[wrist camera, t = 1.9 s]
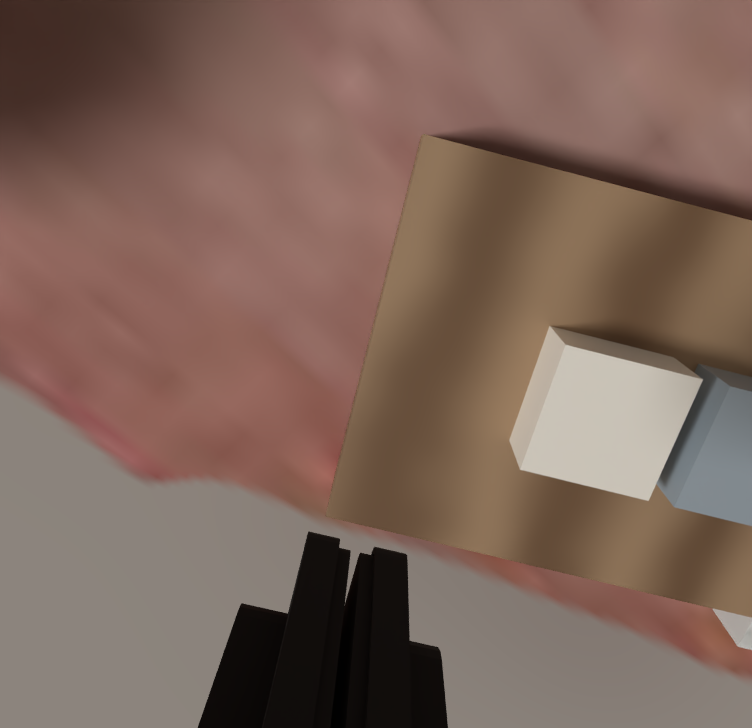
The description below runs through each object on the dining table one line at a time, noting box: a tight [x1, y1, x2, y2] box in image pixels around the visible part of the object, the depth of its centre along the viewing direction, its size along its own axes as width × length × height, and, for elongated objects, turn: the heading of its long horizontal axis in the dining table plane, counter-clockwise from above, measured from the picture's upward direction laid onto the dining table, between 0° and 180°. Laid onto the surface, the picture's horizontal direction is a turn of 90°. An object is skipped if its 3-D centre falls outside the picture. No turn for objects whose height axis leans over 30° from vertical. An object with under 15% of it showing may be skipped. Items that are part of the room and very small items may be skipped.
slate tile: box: [656, 364, 752, 526], centre depth 24 cm, size 5×5×2 cm
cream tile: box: [509, 326, 703, 501], centre depth 24 cm, size 5×5×2 cm
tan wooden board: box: [326, 134, 752, 618], centre depth 26 cm, size 20×16×3 cm
